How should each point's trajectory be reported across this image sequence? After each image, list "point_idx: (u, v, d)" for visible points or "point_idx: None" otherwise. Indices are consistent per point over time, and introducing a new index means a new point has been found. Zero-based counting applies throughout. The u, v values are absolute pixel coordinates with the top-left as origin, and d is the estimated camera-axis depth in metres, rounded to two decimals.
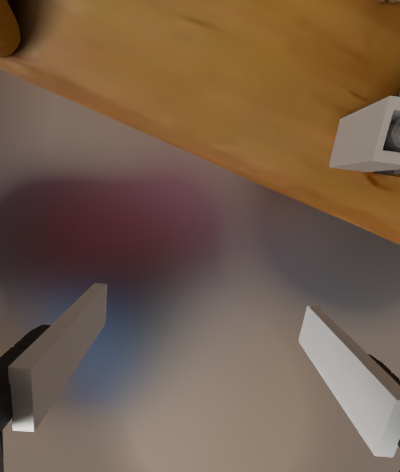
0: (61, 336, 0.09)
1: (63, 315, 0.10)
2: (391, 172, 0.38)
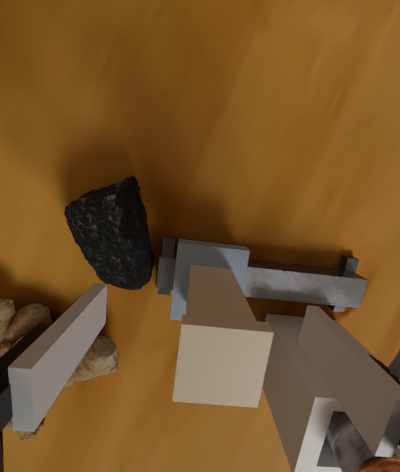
0: (61, 336, 0.09)
1: (63, 315, 0.10)
2: None
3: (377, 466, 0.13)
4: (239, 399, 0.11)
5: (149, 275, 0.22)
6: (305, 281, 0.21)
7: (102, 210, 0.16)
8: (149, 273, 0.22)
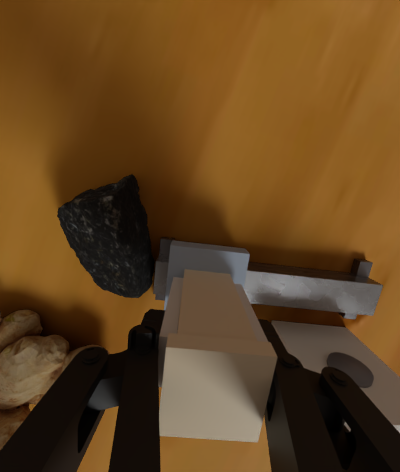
0: (178, 316, 0.11)
1: None
2: None
3: None
4: (236, 433, 0.09)
5: (150, 281, 0.20)
6: (315, 287, 0.19)
7: (98, 213, 0.15)
8: (150, 279, 0.20)
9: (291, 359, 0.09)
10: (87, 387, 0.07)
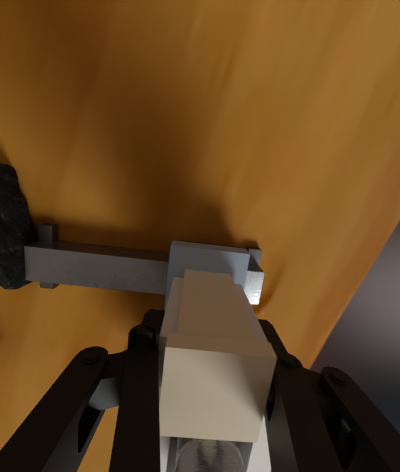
0: None
1: None
2: None
3: None
4: (236, 433, 0.09)
5: None
6: None
7: None
8: None
9: (291, 359, 0.09)
10: (87, 387, 0.07)
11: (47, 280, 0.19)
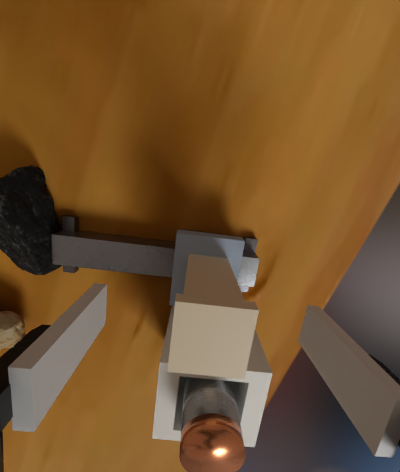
0: (61, 336, 0.09)
1: (63, 315, 0.10)
2: None
3: (196, 424, 0.14)
4: (228, 371, 0.12)
5: None
6: None
7: None
8: None
9: None
10: None
11: (70, 264, 0.22)
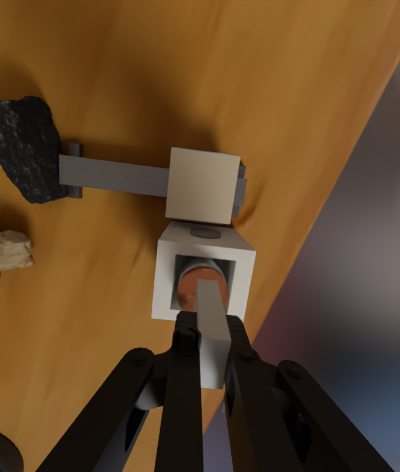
0: (212, 318, 0.12)
1: (197, 303, 0.13)
2: (239, 205, 0.25)
3: (190, 271, 0.17)
4: (216, 216, 0.14)
5: (65, 191, 0.25)
6: None
7: (0, 115, 0.20)
8: (64, 189, 0.25)
9: (249, 352, 0.09)
10: (135, 388, 0.07)
11: (76, 184, 0.24)
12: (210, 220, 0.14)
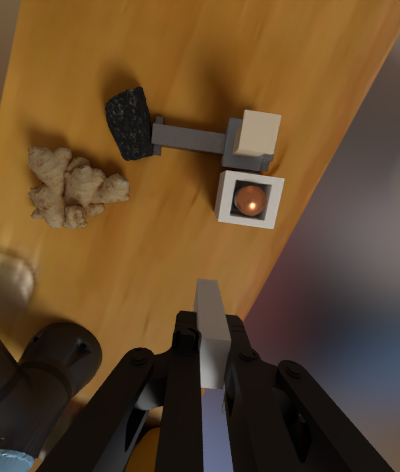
0: (212, 318, 0.12)
1: (197, 303, 0.13)
2: (270, 161, 0.37)
3: (244, 187, 0.30)
4: (266, 149, 0.26)
5: (151, 152, 0.37)
6: None
7: (126, 98, 0.32)
8: (151, 150, 0.37)
9: (249, 352, 0.09)
10: (135, 388, 0.07)
11: (162, 143, 0.36)
12: (262, 151, 0.26)
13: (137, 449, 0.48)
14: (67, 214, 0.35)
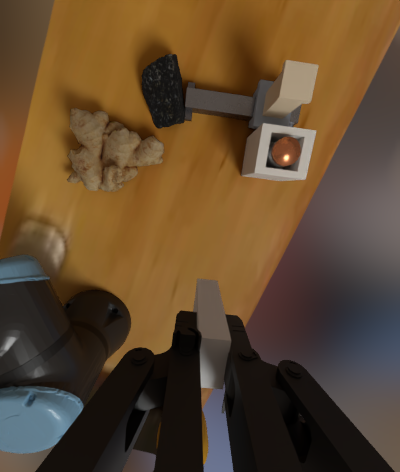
0: (212, 318, 0.12)
1: (197, 303, 0.13)
2: (295, 123, 0.39)
3: (280, 139, 0.32)
4: (304, 97, 0.29)
5: (183, 119, 0.40)
6: None
7: (165, 63, 0.34)
8: (183, 117, 0.40)
9: (249, 352, 0.09)
10: (135, 388, 0.07)
11: (195, 106, 0.38)
12: (301, 99, 0.29)
13: None
14: (106, 174, 0.37)
